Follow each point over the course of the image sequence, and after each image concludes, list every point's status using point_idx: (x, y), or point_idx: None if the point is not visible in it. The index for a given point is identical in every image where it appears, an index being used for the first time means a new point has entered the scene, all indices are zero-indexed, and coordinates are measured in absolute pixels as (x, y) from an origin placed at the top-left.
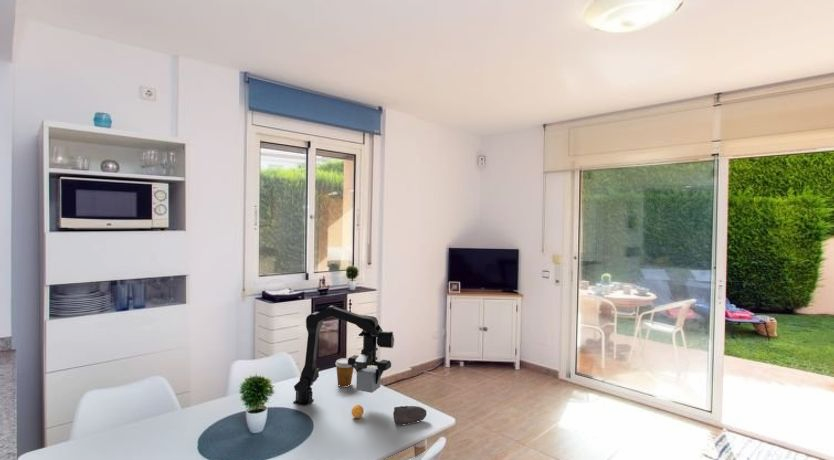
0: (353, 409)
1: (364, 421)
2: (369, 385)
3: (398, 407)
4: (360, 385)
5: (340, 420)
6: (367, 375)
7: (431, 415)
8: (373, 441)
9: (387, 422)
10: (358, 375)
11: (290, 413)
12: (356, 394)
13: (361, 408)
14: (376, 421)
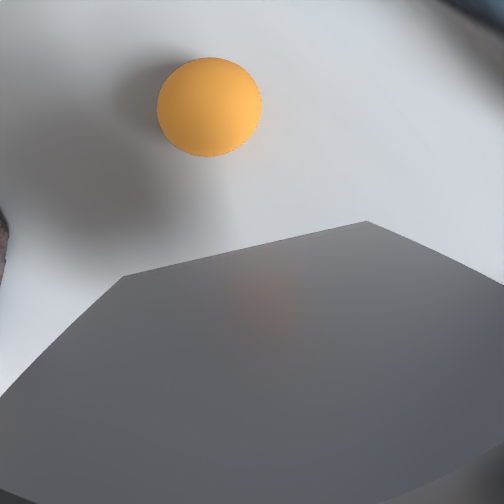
0: (215, 59)
1: (137, 110)
2: (126, 307)
3: None
4: (320, 253)
5: (273, 22)
6: (88, 448)
7: (7, 384)
8: (4, 32)
9: (39, 205)
10: (484, 323)
11: (496, 2)
12: None
13: (162, 107)
14: (83, 166)
